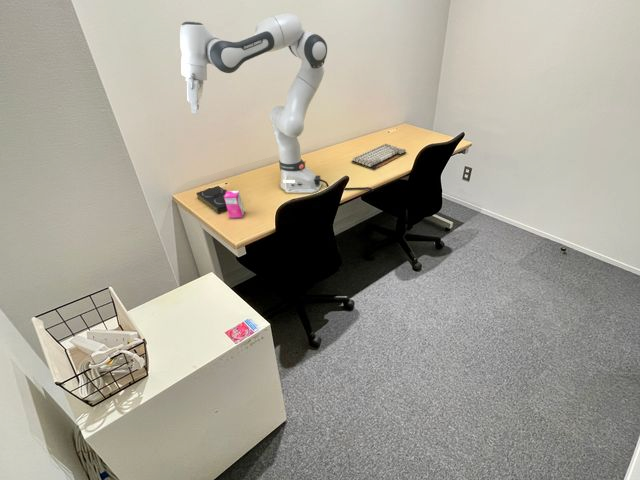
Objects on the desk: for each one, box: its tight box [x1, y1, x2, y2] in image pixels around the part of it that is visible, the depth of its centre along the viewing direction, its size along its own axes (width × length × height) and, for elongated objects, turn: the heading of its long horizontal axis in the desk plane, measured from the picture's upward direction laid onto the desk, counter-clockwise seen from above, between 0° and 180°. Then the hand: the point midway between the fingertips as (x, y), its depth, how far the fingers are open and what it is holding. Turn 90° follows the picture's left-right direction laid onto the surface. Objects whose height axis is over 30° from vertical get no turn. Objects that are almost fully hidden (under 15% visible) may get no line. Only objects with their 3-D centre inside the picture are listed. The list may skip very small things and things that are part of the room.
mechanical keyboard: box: [351, 143, 407, 171], centre depth 213 cm, size 38×19×3 cm, turn 141°
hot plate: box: [195, 185, 228, 215], centre depth 163 cm, size 22×13×4 cm, turn 45°
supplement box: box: [224, 190, 246, 219], centre depth 150 cm, size 6×6×12 cm
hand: (195, 111), depth 132 cm, fingers open, 8 cm apart
